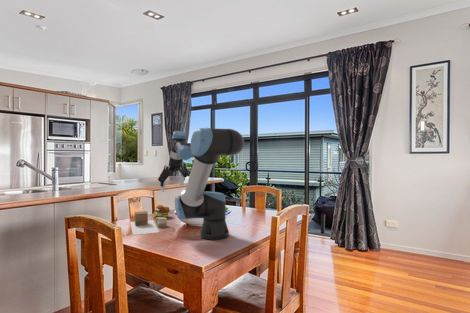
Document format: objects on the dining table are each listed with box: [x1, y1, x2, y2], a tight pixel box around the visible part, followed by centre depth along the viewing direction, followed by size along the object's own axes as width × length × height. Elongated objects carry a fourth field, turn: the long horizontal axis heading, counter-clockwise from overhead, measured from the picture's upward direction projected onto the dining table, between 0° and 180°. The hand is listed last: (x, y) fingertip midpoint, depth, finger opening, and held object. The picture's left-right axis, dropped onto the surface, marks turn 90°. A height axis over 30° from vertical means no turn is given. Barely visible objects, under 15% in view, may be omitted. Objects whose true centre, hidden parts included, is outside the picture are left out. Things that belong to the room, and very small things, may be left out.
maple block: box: [154, 217, 168, 229], centre depth 178 cm, size 5×5×5 cm
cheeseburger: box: [152, 204, 171, 220], centre depth 202 cm, size 10×11×10 cm
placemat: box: [129, 219, 160, 236], centre depth 176 cm, size 32×14×1 cm, turn 22°
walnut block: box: [134, 210, 149, 226], centre depth 182 cm, size 7×7×7 cm
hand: (172, 187), depth 182 cm, fingers open, 13 cm apart
